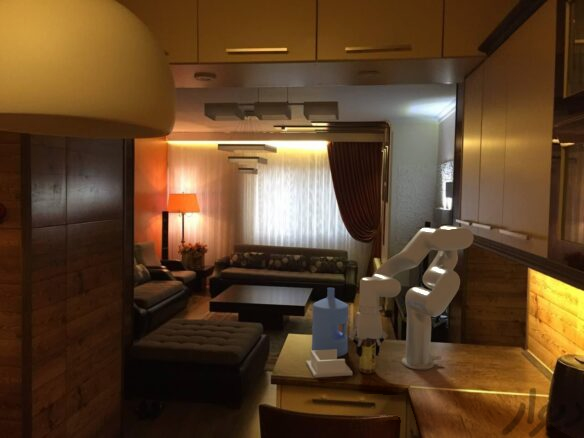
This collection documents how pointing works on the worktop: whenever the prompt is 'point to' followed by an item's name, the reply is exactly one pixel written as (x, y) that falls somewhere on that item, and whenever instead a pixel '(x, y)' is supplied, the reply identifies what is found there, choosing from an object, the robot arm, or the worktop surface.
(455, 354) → the worktop surface
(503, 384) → the worktop surface
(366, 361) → the sauce bottle
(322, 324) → the water jug
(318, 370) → the end holder
